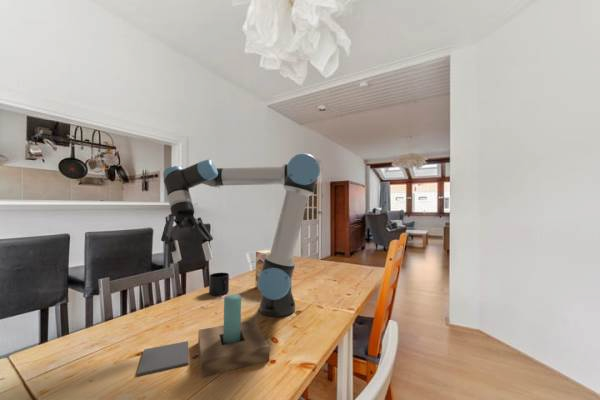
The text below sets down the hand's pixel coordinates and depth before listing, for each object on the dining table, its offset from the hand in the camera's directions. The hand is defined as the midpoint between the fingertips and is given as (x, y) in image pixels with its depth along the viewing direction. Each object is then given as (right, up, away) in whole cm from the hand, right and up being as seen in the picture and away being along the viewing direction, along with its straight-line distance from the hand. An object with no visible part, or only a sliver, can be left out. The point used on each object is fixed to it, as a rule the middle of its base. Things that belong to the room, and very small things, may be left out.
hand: (194, 260), depth 85 cm
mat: (-3, -25, -13) cm, 28 cm away
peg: (+15, -25, -9) cm, 31 cm away
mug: (-5, -27, +41) cm, 49 cm away
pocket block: (+15, -25, -9) cm, 31 cm away
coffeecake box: (+19, -27, +50) cm, 60 cm away
